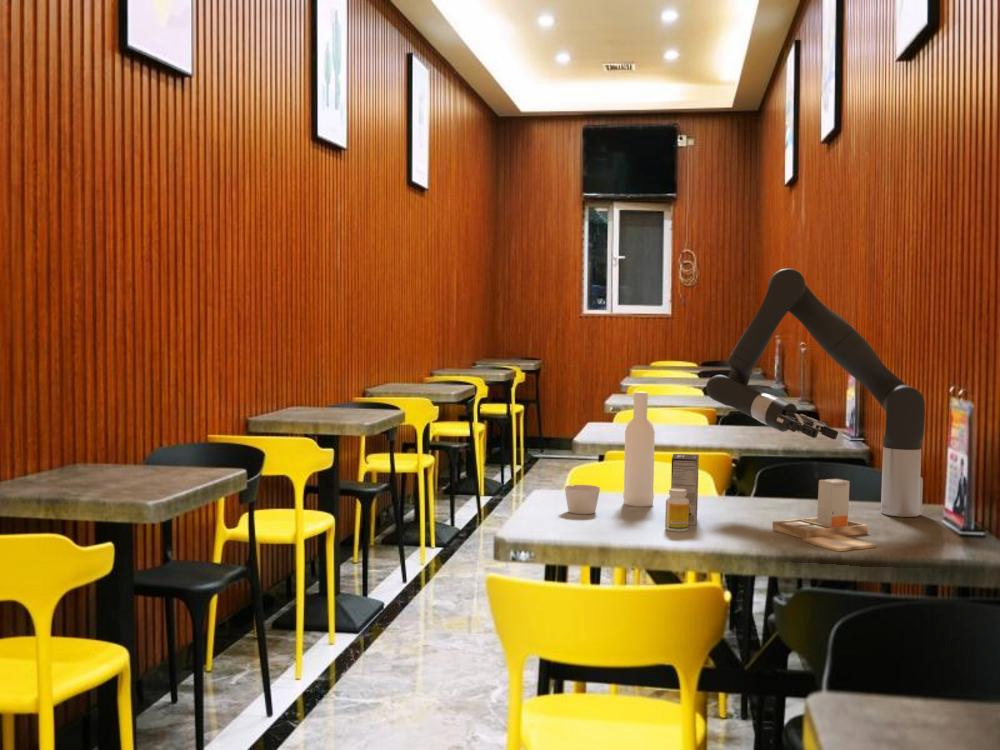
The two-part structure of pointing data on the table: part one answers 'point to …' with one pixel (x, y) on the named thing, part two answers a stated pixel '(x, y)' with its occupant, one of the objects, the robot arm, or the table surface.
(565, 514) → the table surface
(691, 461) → the coffee box
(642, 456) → the bottle
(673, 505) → the supplement bottle
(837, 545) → the coaster
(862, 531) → the light wood flat frame
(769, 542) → the table surface
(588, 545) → the table surface
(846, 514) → the skincare box
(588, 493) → the beige cup
